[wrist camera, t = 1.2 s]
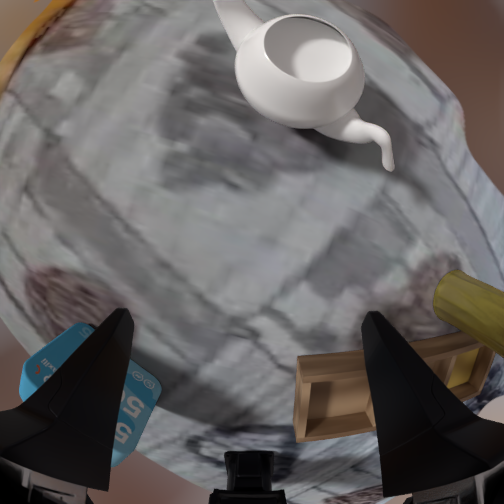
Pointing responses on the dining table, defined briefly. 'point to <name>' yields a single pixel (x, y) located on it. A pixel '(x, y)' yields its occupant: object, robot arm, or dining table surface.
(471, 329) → the vase
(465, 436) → the robot arm
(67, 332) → the data package
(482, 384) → the rack
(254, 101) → the teapot
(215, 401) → the dining table surface
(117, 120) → the dining table surface
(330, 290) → the dining table surface
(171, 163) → the dining table surface
